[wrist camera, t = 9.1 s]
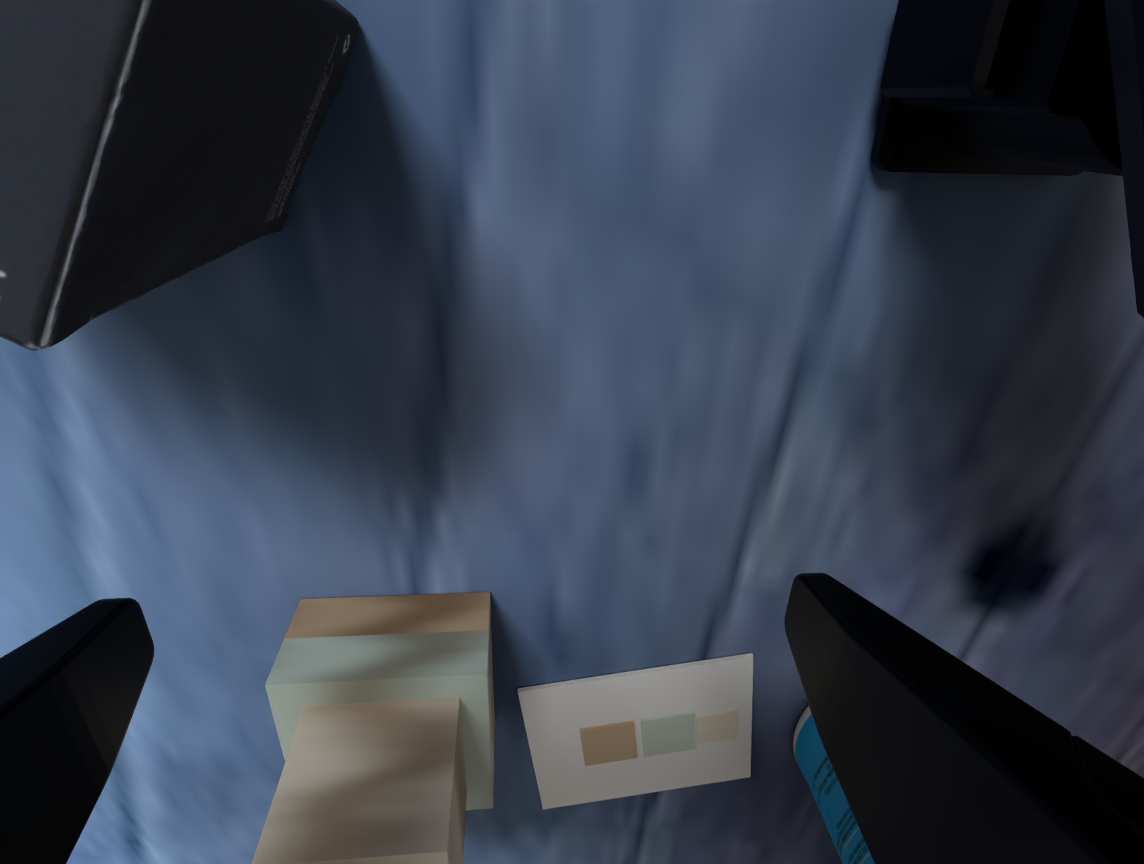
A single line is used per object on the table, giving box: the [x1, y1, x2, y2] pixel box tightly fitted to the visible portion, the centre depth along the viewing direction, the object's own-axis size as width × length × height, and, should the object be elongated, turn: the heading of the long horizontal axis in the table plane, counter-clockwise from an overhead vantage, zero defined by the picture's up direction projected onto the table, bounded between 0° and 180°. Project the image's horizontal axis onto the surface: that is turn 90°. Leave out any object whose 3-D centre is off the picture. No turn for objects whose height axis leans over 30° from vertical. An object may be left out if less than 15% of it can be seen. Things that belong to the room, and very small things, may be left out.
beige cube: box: [252, 698, 467, 864], centre depth 20 cm, size 5×5×5 cm
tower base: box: [265, 592, 495, 810], centre depth 24 cm, size 7×7×4 cm
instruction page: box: [518, 653, 753, 810], centre depth 29 cm, size 10×8×1 cm
